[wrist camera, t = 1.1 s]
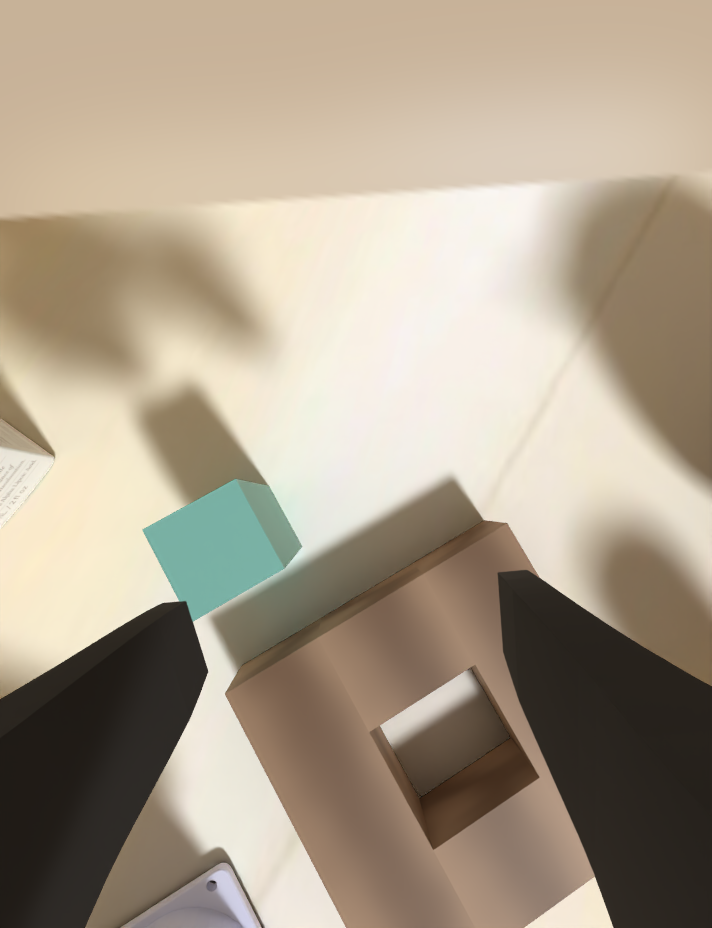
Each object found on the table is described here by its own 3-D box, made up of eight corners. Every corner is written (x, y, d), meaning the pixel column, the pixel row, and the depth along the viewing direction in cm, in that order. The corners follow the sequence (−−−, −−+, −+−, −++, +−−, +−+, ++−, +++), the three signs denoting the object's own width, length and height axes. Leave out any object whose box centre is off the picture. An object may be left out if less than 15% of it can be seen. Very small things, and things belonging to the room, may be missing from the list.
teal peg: (239, 582, 21) (190, 622, 14) (206, 520, 21) (142, 529, 14) (302, 546, 21) (284, 568, 14) (268, 485, 22) (235, 478, 15)
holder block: (386, 941, 19) (394, 1021, 16) (241, 665, 20) (224, 693, 18) (631, 769, 21) (679, 814, 18) (484, 520, 22) (507, 523, 19)
